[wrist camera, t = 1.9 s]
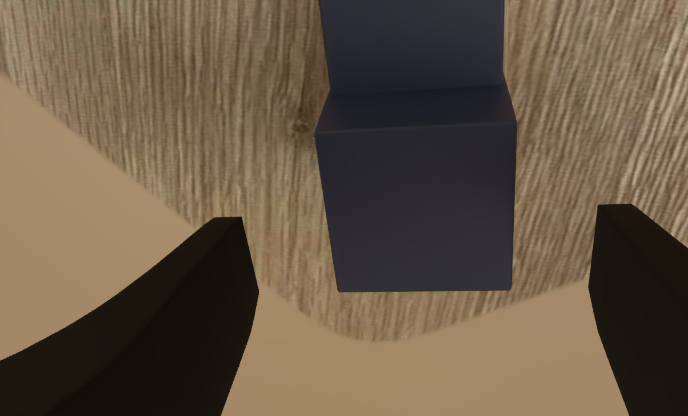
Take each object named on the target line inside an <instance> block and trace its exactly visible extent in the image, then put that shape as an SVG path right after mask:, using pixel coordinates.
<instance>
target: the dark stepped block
mask: <svg viewBox="0 0 688 416" xmlns="http://www.w3.org/2000/svg"><path fill="white" fill-rule="evenodd" d="M319 7H320V15H321V22H322V30H323V38H324V46H325V53H326V61H327V69H328V76H329V84H330V90H329V93H328V96H327V99H326V102H325V104H324V107H323V110H322V113H321V115H320V118H319V121H318V124H317V127H316V129H315V132H314V137H315V144H316V150H317V157H318V164H319V170H320V177H321V184H322V190H323V197H324V204H325V210H326V217H327V224H328V230H329V237H330V244H331V250H332V257H333V264H334V271H335V277H336V284H337V290H338V292H411V291H498V290H510V289H511V287H512V262H513V233H514V205H515V176H516V148H517V120H516V116H515V113H514V109H513V105H512V102H511V98H510V94H509V91H508V87H507V53H508V12H509V0H319Z"/></svg>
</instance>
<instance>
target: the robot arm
mask: <svg viewBox="0 0 688 416" xmlns="http://www.w3.org/2000/svg"><path fill="white" fill-rule="evenodd" d="M588 288H589V293H590V298H591V302H592V307H593V312H594V316H595V320H596V325H597V329H598V333H599V336H600V338H601V341H602V344H603V347H604V349H605V352H606V355H607V358H608V360H609V363H610V366H611V368H612V371H613V374H614V376H615V379H616V381H617V384H618V387H619V389H620V392H621V395H622V398H623V400H624V402H625V405H626V408H627V411H628V413H629V416H688V248H687V247H686V246H684V245H683V244H682V243H681V242H679V241H678V240H677V239H675V238H674V237H673V236H672V235H670V234H669V233H668V232H667V231H665V230H664V229H663V228H662V227H660V226H659V225H658V224H657V223H655V222H654V221H653V220H652V219H650V218H649V217H648V216H647V215H645V214H644V213H643V212H642V211H640V210H639V209H638V208H636V207H635V206H634V205H632V204H608V205H598V209H597V217H596V226H595V234H594V243H593V251H592V260H591V269H590V277H589V286H588ZM258 295H259V289H258V285H257V280H256V276H255V272H254V268H253V263H252V259H251V255H250V251H249V246H248V242H247V238H246V233H245V229H244V225H243V221H242V217H215V218H213V219H212V220H210V221H209V222H207V223H206V224H205V225H203V226H202V227H201V228H200V229H198V230H197V231H196V232H195V233H194V234H192V235H191V236H190V237H189V238H188V239H186V240H185V241H184V242H183V243H182V244H180V245H179V246H178V247H177V248H176V249H174V250H173V251H172V252H171V253H170V254H169V255H167V256H166V257H165V258H163V259H162V260H161V261H160V262H159V263H157V264H156V265H155V266H154V267H152V268H151V269H150V270H149V271H147V272H146V273H145V274H143V275H142V276H141V277H139V278H138V279H137V280H135V281H134V282H133V283H131V284H130V285H129V286H127V287H126V288H125V289H124V290H122V291H121V292H119V293H118V294H117V295H115V296H114V297H112V298H111V299H110V300H108V301H107V302H105V303H104V304H102V305H101V306H99V307H98V308H96V309H95V310H93V311H92V312H90V313H88V314H87V315H85V316H83V317H82V318H80V319H78V320H77V321H76V322H74V323H72V324H70V325H69V326H67V327H65V328H63V329H61V330H60V331H58V332H56V333H54V334H52V335H50V336H49V337H46V338H45V339H43V340H41V341H39V342H37V343H35V344H33V345H31V346H30V347H28V348H26V349H24V350H22V351H20V352H18V353H16V354H14V355H12V356H9V357H7V358H5V359H3V360H1V361H0V416H221V413H222V411H223V408H224V405H225V402H226V400H227V397H228V394H229V392H230V389H231V386H232V384H233V381H234V378H235V375H236V372H237V370H238V367H239V364H240V362H241V359H242V356H243V353H244V350H245V348H246V345H247V342H248V339H249V336H250V333H251V329H252V325H253V320H254V316H255V311H256V306H257V300H258Z"/></svg>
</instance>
